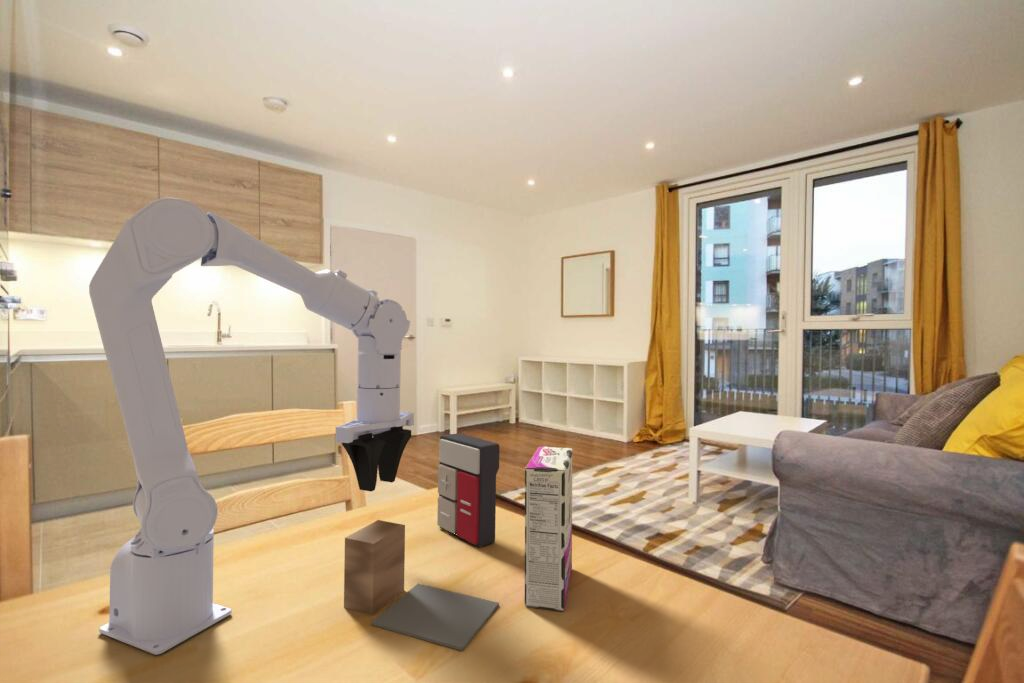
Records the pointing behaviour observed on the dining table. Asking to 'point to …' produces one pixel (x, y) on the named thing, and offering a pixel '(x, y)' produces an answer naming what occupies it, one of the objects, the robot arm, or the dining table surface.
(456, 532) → the calculator
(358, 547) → the walnut block
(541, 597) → the candy bar box
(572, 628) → the dining table surface
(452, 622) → the mat
